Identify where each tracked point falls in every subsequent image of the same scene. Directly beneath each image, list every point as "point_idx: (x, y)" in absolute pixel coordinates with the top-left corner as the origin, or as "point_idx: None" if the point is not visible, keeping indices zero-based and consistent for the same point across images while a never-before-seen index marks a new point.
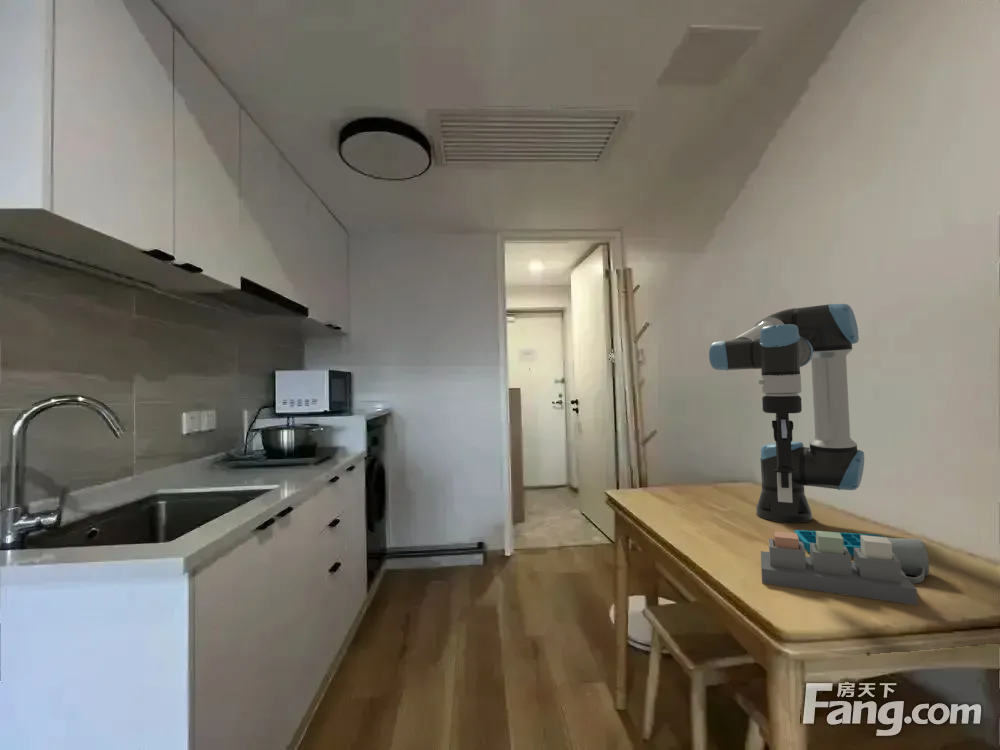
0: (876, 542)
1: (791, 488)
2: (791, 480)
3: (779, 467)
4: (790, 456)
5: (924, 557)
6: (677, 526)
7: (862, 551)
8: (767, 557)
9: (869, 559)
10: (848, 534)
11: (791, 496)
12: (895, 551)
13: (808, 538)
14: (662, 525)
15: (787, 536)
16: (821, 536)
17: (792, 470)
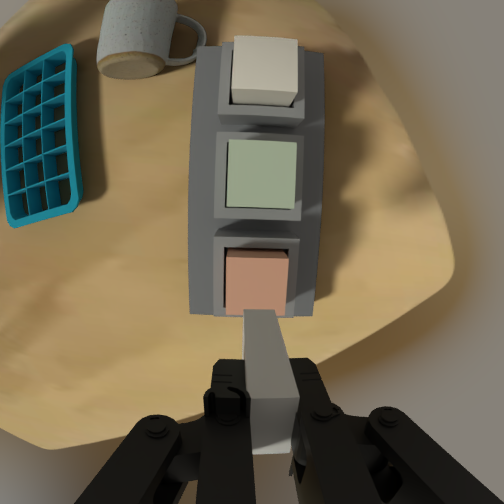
0: (297, 67)
1: (283, 343)
2: (290, 367)
3: (387, 466)
4: (467, 477)
5: (172, 2)
6: (61, 412)
7: (255, 101)
8: None
9: (303, 100)
10: (5, 128)
11: (278, 325)
12: (158, 38)
13: (32, 201)
14: (71, 431)
15: (270, 284)
16: (291, 199)
17: (242, 396)
